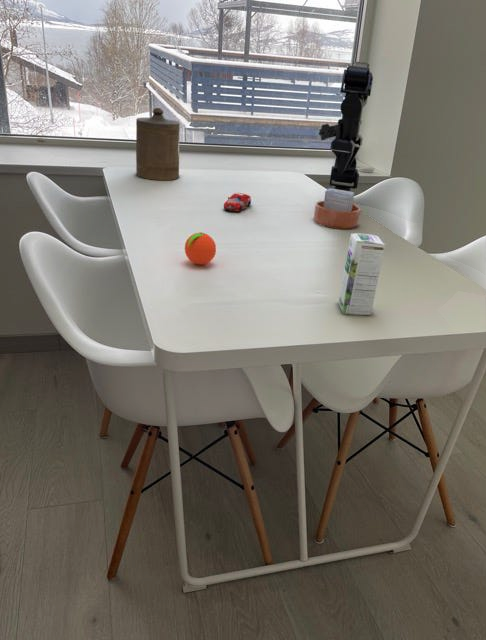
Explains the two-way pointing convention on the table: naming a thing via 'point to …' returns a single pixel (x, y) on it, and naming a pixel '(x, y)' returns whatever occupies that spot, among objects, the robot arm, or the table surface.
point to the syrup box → (361, 274)
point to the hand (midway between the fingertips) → (342, 173)
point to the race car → (237, 202)
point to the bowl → (336, 217)
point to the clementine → (200, 248)
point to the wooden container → (157, 147)
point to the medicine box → (338, 200)
